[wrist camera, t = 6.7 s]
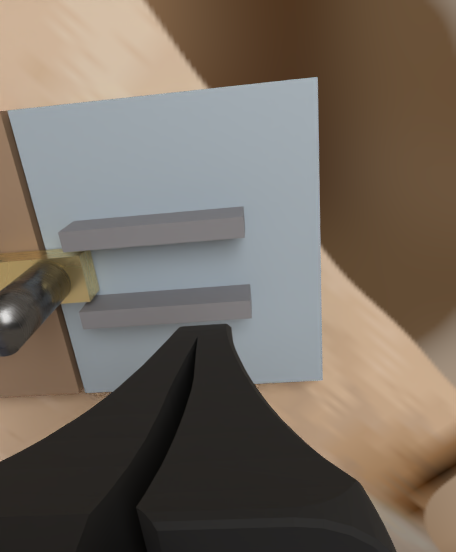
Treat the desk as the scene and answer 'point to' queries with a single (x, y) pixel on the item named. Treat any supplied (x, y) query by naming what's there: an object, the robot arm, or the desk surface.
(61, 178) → the sliding latch plate
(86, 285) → the bolt
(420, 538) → the desk surface
